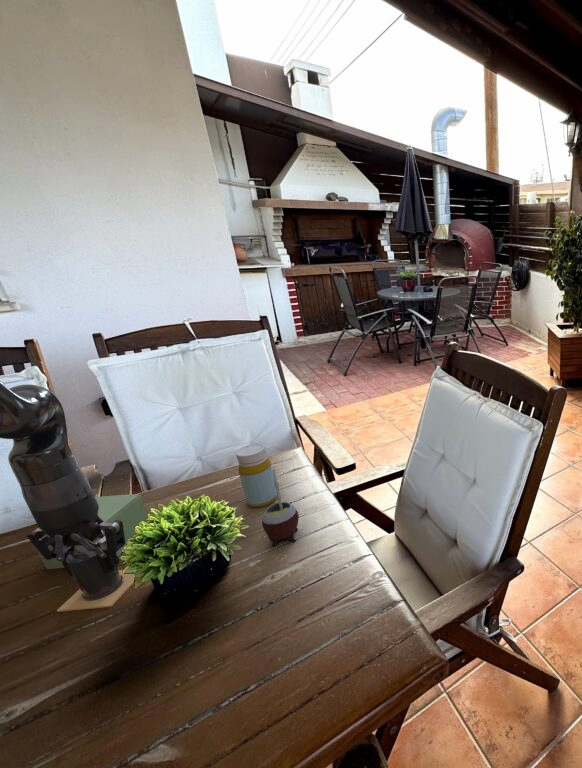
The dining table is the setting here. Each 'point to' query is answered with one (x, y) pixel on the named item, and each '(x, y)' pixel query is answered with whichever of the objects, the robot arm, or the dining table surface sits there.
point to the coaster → (108, 601)
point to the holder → (92, 574)
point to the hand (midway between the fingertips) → (95, 570)
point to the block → (113, 519)
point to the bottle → (256, 475)
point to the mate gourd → (280, 519)
